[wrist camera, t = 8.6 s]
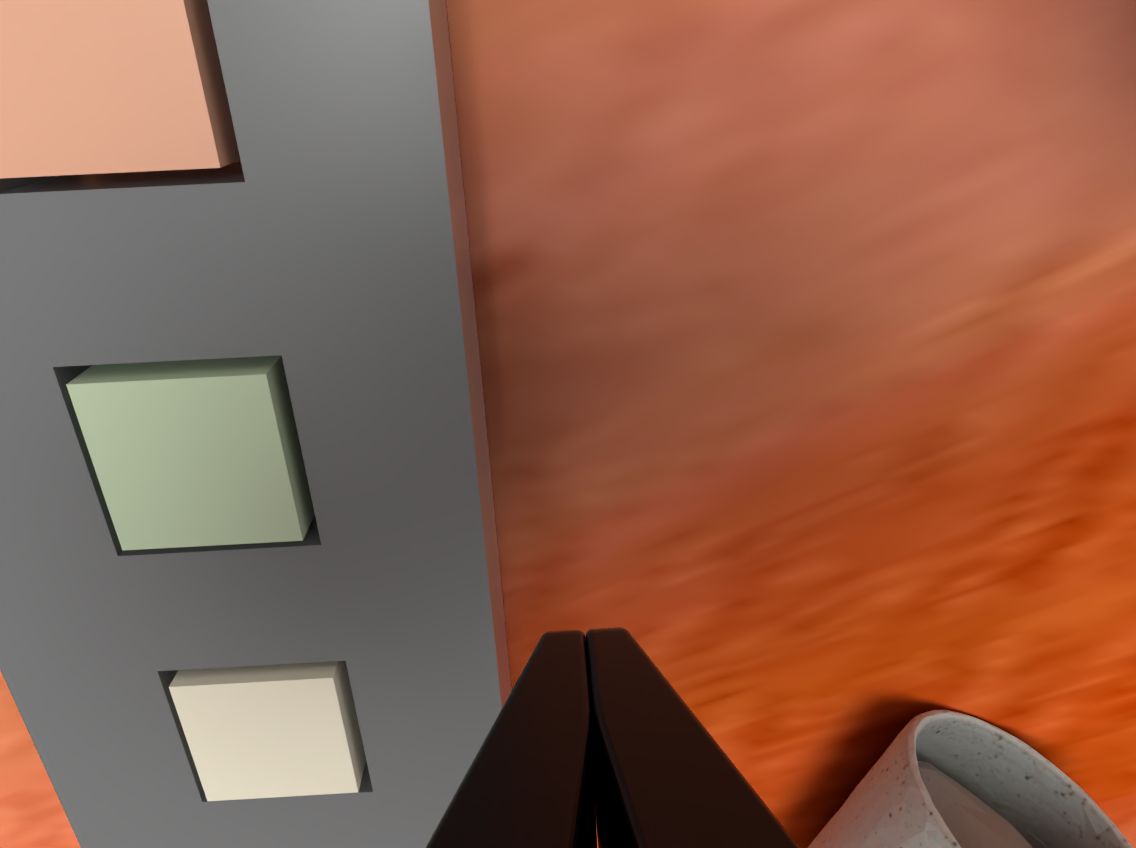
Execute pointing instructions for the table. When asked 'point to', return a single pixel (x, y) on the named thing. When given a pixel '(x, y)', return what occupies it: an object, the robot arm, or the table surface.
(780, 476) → the table surface
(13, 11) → the terracotta button
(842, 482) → the table surface
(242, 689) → the cream button
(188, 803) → the console
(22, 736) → the table surface
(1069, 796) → the ceramic mug
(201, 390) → the sage button
